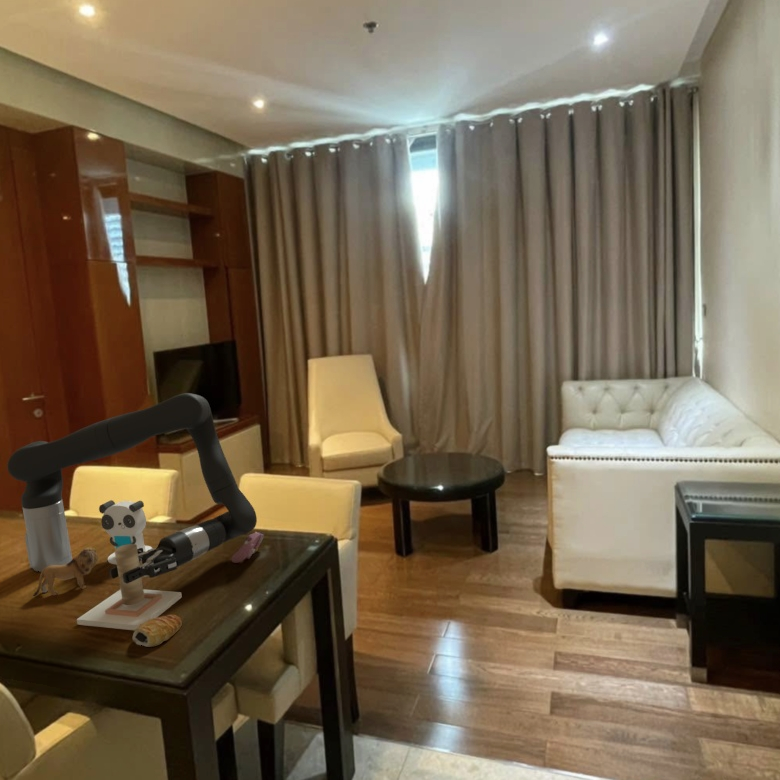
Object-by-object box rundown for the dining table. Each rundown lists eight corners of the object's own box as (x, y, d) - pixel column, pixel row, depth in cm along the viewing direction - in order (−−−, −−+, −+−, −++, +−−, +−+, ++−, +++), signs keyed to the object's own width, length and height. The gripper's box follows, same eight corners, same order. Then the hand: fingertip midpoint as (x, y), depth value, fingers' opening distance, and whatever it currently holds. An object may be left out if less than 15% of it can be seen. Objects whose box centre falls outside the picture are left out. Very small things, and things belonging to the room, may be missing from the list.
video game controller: (245, 569, 151) (254, 546, 150) (229, 562, 152) (238, 538, 150) (260, 553, 161) (269, 531, 159) (245, 545, 161) (253, 523, 160)
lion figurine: (100, 576, 150) (95, 542, 149) (102, 584, 146) (96, 549, 144) (33, 594, 143) (27, 558, 142) (32, 603, 139) (26, 566, 137)
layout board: (77, 624, 127) (76, 615, 127) (123, 592, 140) (122, 584, 140) (140, 630, 123) (139, 621, 122) (181, 597, 136) (180, 588, 136)
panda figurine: (96, 563, 159) (87, 509, 156) (125, 545, 169) (117, 494, 167) (134, 565, 155) (126, 510, 153) (161, 547, 166) (154, 495, 164)
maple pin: (118, 604, 129) (110, 552, 128) (132, 594, 134) (124, 543, 132) (135, 605, 128) (127, 553, 126) (148, 595, 132) (141, 544, 130)
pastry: (168, 620, 126) (165, 603, 126) (190, 627, 123) (188, 610, 122) (130, 644, 118) (127, 626, 118) (152, 652, 115) (150, 633, 114)
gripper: (163, 526, 145) (96, 554, 131) (201, 535, 137) (134, 566, 123) (167, 555, 146) (101, 586, 132) (206, 566, 138) (139, 600, 124)
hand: (117, 576), depth 128 cm, fingers open, 4 cm apart
